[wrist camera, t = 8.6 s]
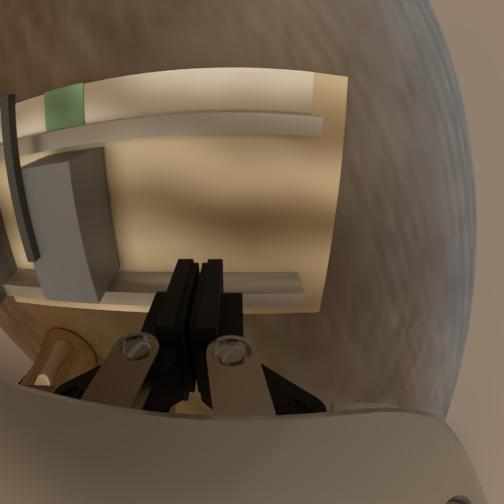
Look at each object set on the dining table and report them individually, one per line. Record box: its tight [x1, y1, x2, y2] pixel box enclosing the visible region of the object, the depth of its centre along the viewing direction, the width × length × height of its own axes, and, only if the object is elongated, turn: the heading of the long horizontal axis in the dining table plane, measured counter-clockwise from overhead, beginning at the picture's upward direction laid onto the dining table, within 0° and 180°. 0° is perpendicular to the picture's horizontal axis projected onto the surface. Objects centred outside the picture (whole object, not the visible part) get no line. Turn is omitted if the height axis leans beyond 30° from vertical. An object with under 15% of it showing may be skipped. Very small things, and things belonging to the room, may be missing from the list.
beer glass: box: [17, 328, 96, 389], centre depth 18 cm, size 7×7×15 cm
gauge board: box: [0, 68, 348, 314], centre depth 16 cm, size 16×26×6 cm, turn 89°
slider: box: [0, 94, 120, 304], centre depth 14 cm, size 12×4×5 cm, turn 179°
